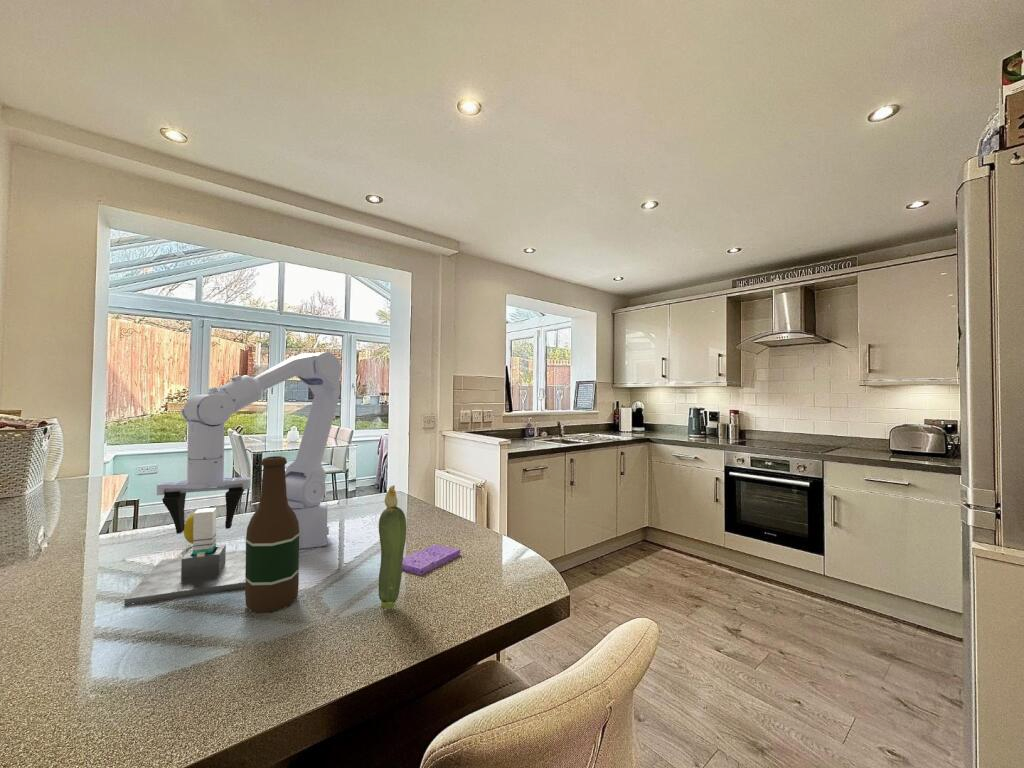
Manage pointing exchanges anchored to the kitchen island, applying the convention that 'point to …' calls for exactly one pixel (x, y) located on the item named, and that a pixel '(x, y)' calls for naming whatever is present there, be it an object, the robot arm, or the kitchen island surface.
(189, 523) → the lemon
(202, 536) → the post
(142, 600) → the stand base
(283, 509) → the beer bottle
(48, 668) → the kitchen island surface
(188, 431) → the robot arm
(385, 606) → the vegetable
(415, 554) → the sponges
